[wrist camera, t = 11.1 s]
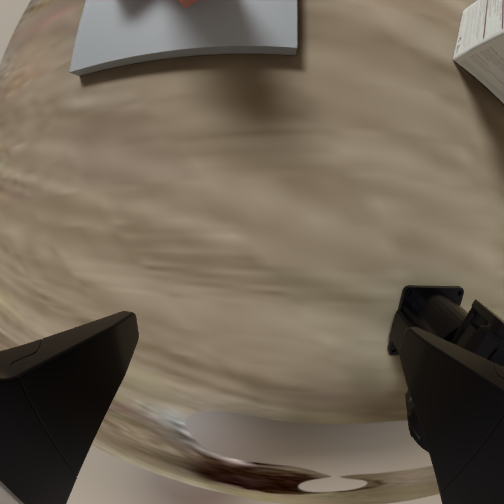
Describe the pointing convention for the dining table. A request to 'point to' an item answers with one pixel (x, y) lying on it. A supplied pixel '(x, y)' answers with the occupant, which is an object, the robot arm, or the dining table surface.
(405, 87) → the dining table surface
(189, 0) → the boxed book
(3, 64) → the dining table surface
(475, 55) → the supplement box
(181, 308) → the dining table surface
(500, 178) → the dining table surface
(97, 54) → the shelf board
